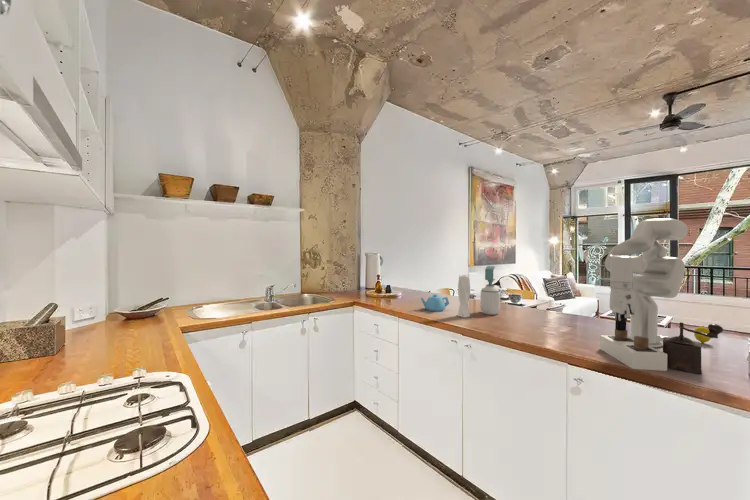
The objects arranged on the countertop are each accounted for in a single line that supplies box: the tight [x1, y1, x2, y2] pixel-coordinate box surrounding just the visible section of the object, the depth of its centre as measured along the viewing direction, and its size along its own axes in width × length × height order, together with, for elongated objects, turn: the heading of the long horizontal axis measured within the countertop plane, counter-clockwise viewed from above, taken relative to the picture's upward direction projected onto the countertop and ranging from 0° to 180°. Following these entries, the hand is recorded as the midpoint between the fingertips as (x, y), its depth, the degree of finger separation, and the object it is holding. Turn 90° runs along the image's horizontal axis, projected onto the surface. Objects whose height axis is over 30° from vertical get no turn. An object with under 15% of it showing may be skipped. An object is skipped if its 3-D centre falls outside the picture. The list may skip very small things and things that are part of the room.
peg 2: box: [634, 336, 649, 350], centre depth 121 cm, size 4×4×6 cm
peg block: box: [599, 334, 668, 372], centre depth 128 cm, size 11×23×6 cm, turn 170°
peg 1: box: [614, 328, 628, 340], centre depth 134 cm, size 4×4×6 cm
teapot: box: [420, 293, 450, 312], centre depth 226 cm, size 15×15×11 cm
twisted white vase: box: [455, 272, 473, 319], centre depth 203 cm, size 8×8×28 cm
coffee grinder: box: [662, 321, 724, 375], centre depth 118 cm, size 16×11×18 cm
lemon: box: [693, 325, 712, 344], centre depth 148 cm, size 6×6×8 cm
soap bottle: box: [480, 265, 501, 316], centre depth 213 cm, size 12×12×31 cm
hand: (620, 329), depth 134 cm, fingers closed
